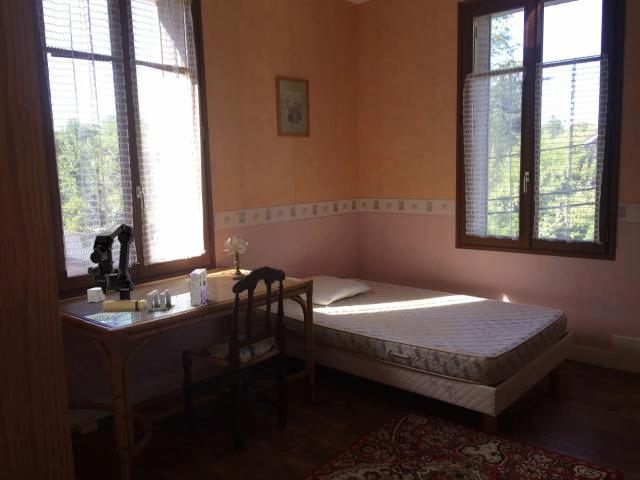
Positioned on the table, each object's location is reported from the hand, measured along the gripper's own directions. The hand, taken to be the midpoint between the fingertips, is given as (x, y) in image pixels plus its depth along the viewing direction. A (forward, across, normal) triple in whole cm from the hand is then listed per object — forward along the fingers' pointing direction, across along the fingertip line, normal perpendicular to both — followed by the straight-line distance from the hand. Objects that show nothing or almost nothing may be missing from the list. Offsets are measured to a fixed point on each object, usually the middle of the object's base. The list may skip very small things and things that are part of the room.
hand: (108, 291), depth 261 cm
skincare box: (+10, -20, -16) cm, 27 cm away
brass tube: (+9, 0, +8) cm, 12 cm away
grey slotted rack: (+10, 0, +14) cm, 17 cm away
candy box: (+10, -14, +40) cm, 44 cm away
